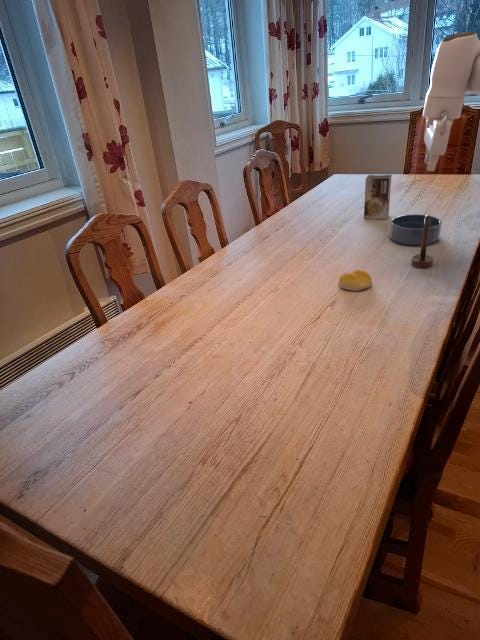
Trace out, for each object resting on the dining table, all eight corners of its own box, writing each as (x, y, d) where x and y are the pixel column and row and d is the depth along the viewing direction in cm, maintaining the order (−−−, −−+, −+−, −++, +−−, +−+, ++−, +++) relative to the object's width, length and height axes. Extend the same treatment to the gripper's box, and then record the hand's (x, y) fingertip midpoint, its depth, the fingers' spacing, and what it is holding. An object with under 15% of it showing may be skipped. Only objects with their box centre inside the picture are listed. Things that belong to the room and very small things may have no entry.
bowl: (437, 231, 154) (440, 214, 151) (440, 247, 141) (443, 229, 138) (390, 230, 159) (391, 214, 156) (388, 245, 146) (390, 228, 143)
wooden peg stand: (431, 261, 132) (438, 212, 125) (432, 268, 127) (440, 218, 120) (411, 260, 134) (416, 212, 126) (411, 267, 129) (417, 218, 122)
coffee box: (389, 215, 174) (392, 174, 166) (386, 219, 169) (390, 177, 161) (366, 214, 178) (368, 174, 170) (363, 218, 173) (365, 177, 165)
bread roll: (333, 283, 125) (334, 270, 123) (360, 277, 127) (361, 264, 125) (348, 294, 118) (349, 281, 116) (377, 287, 120) (378, 274, 118)
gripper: (461, 114, 98) (446, 176, 106) (451, 106, 115) (438, 160, 122) (432, 113, 100) (418, 174, 107) (426, 105, 116) (414, 158, 124)
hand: (429, 166), depth 115 cm, fingers open, 8 cm apart
